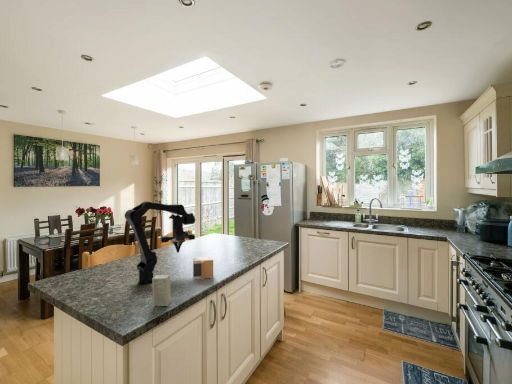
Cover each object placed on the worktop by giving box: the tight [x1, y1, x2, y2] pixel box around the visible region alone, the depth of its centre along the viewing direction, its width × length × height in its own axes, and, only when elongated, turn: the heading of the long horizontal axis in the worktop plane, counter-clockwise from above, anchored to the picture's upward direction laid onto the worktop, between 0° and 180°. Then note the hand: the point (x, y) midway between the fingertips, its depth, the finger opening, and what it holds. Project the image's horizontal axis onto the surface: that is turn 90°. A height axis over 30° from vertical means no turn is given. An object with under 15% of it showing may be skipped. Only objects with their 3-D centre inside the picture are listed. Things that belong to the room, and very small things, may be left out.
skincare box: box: [151, 274, 171, 308], centre depth 104 cm, size 6×4×12 cm
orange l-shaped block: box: [200, 259, 214, 281], centre depth 133 cm, size 6×4×10 cm, turn 106°
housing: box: [192, 256, 211, 280], centre depth 137 cm, size 10×6×10 cm, turn 106°
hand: (177, 252), depth 143 cm, fingers closed
